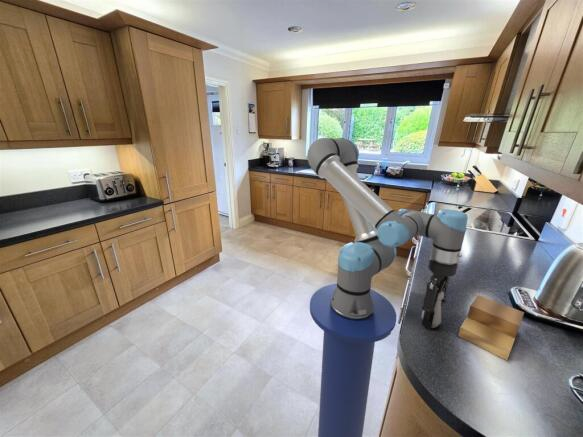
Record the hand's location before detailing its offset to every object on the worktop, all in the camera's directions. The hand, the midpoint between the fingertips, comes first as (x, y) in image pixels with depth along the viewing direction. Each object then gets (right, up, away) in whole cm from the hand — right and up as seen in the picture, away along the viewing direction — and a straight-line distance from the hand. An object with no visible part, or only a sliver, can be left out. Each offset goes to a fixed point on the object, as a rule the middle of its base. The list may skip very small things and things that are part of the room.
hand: (430, 321), depth 82 cm
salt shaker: (0, -1, 0) cm, 1 cm away
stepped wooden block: (+16, -2, -4) cm, 17 cm away
